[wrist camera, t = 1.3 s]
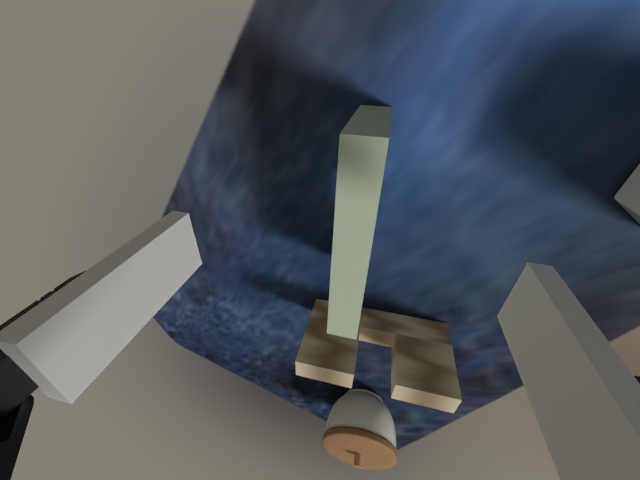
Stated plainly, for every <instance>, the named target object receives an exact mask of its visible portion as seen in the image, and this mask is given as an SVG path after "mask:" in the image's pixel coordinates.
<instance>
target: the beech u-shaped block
mask: <svg viewBox="0 0 640 480" xmlns="http://www.w3.org/2000/svg"><path fill="white" fill-rule="evenodd" d="M328 305H329V301H327V300H321V299H316V301H315V304H314V307H313V310H312V313H311V316H310V319H309V322H308V325H307V328H306V331H305V334H304V337H303V340H302V343H301V346H300V349H299V352H298V355H297V358H296V361H295V365H296V375H298V376H302V377H306V378H310V379H315V380H319V381H323V382H327V383H331V384H335V385H339V386H343V387H348V388H352V383H353V377H354V371H355V363H356V356H357V349H358V341H359V340H360V341H365V342H370V343H374V344H379V345H384V346H388V347H392V370H391V398H393V399H397V400H401V401H405V402H409V403H414V404H418V405H422V406H426V407H430V408H434V409H438V410H442V411H447V412H451V413H454V412H455V411H456V409H457V407H458V406H459V404H460V403H461V401H462V398H461V393H460V387H459V382H458V377H457V371H456V366H455V360H454V355H453V350H452V344H451V339H450V334H449V328H448V324H447V323H442V322H437V321H431V320H426V319H421V318H416V317H410V316H405V315H400V314H395V313H389V312H384V311H379V310H374V309H369V308H363V307H362V309H361V315H360V321H359V327H358V334H357V340H356V339H351V338H346V337H341V336H337V335H332V334H327V321H328Z"/></svg>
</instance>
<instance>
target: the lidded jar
mask: <svg viewBox="0 0 640 480" xmlns="http://www.w3.org/2000/svg"><path fill="white" fill-rule="evenodd" d="M322 443H323V447H324V449H325V450H326V451H327V452H328V453H329V454H330V455H331V456H333V457H334V458H336V459H338V460H339V461H341V462H344V463H346V464H348V465H351V466H354V467H355V468H358V469H360V468H363V469H369V470H383V469H388V468H391V467H393V466H394V465H395V464H396V462H397V451H396V434H395V426H394V421H393V418H392V416H391V413H390V411H389V410H388V408H387V407H386V405H385V404H384V403H383V402H382V399H381V398H380V397H379V396H378V395H377V394H375V393H374V392H372V391H369V390H365V389H351V390H349V391H347V393H346V394H345V395H343V396H342V397H340V398H339V399H338V400H337V401H336V403H335V404H334V406H333V407H332V409H331V412H330V414H329V417H328V420H327V424H326V430H325V433H324V436H323V440H322Z"/></svg>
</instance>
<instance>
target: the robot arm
mask: <svg viewBox="0 0 640 480" xmlns="http://www.w3.org/2000/svg"><path fill="white" fill-rule="evenodd" d="M201 264H202V262H201V258H200V254H199V251H198V247H197V243H196V239H195V236H194V232H193V228H192V224H191V221H190V217H189V213H184V212H177V211H172V212H170V213H169V214H167V215H166V216H165V217H163V218H162V219H160V220H159V221H157V222H156V223H155V224H153V225H152V226H150V227H149V228H147V229H146V230H145V231H143V232H142V233H140V234H139V235H137V236H136V237H134V238H133V239H131V240H130V241H129V242H127V243H126V244H124V245H123V246H121V247H120V248H119V249H117V250H116V251H114V252H113V253H111V254H110V255H108V256H107V257H106V258H104V259H103V260H102V261H100V262H98V263H97V264H96V265H94V266H93V267H91V268H90V269H88V270H86V271H84V272H82V273H80V274H78V275H75V276H73V277H71V278H69V279H68V280H66V281H65V282H63V283H62V284H60V285H59V286H58V287H56V288H55V289H54V291H50V292H49V293H47V294H46V295H44V296H43V297H41V299H40V301H36V302H34V303H33V304H31V305H30V306H28V307H27V308H25V309H24V310H22V311H21V312H20V313H18V314H16V315H15V316H14V317H12V318H11V319H9V320H8V321H6V322H5V323H3V324H2V325H0V480H10V479H11V476H12V472H13V469H14V466H15V463H16V459H17V456H18V453H19V450H20V446H21V443H22V440H23V437H24V434H25V430H26V427H27V424H28V421H29V417H30V414H31V411H32V408H33V402H34V397H33V396H32V395H31V393H32V392H33V391H34V390H36V389H37V388H38V387H39V388H40V389H41V390H42V391H43V392H44V393H45V394H46V395H47V396H48V397H50V398H52V399H55V400H59V401H62V402H65V403H69V404H72V403H73V402H74V401H75V400H76V398H78V396H79V395H80V394H81V393H82V392H83V391H84V390H85V389H86V388H87V387H88V386H89V384H91V382H92V381H93V380H94V379H95V378H96V377H97V376H98V375H99V374H100V373H101V372H102V371H103V370H104V368H105V367H106V366H107V365H108V364H109V363H110V362H111V361H112V360H113V359H114V358H115V357H116V356H117V355H118V353H119V352H120V351H121V350H122V349H123V348H124V347H125V346H126V345H127V344H128V343H129V341H131V339H132V338H133V337H134V336H135V335H136V334H137V333H138V332H139V331H140V330H141V329H142V328H143V327H144V326H145V324H146V323H147V322H148V321H149V320H150V319H151V318H152V317H153V316H154V315H155V314H156V313H157V312H158V311H159V309H160V308H161V307H162V306H163V305H164V304H165V303H166V302H167V301H168V300H169V299H170V298H171V297H172V296H173V294H174V293H175V292H176V291H177V290H178V289H179V288H180V287H181V286H182V285H183V284H184V283H185V282H186V280H187V279H188V278H189V277H190V276H191V275H192V274H193V273H194V272H195V271H196V270H197V269H198V268H199V267H200V265H201ZM497 317H498V320H499V322H500V325H501V328H502V330H503V333H504V335H505V338H506V340H507V343H508V346H509V348H510V351H511V353H512V356H513V358H514V361H515V364H516V366H517V369H518V371H519V374H520V377H521V379H522V382H523V384H524V387H525V389H526V392H527V394H528V397H529V400H530V402H531V405H532V408H533V410H534V413H535V415H536V418H537V420H538V423H539V426H540V428H541V431H542V433H543V436H544V438H545V441H546V444H547V446H548V449H549V451H550V454H551V457H552V459H553V462H554V464H555V467H556V469H557V472H558V474H559V477H560V480H640V377H638V376H634V375H633V374H632V373H631V372H630V370H629V369H628V367H627V366H626V365H625V363H624V362H623V361H622V359H621V358H620V357H619V355H618V354H617V353H616V351H615V350H614V349H613V347H612V346H611V345H610V343H609V342H608V340H607V339H606V338H605V336H604V335H603V334H602V332H601V331H600V330H599V328H598V327H597V326H596V324H595V323H594V322H593V320H592V319H591V318H590V316H589V315H588V313H587V312H586V311H585V309H584V308H583V307H582V305H581V304H580V303H579V301H578V300H577V299H576V297H575V296H574V295H573V293H572V292H571V291H570V289H569V288H568V287H567V285H566V284H565V282H564V281H563V280H562V278H561V277H560V276H559V274H558V273H557V272H556V270H555V269H554V268H553V266H548V265H541V264H534V263H527V265H526V266H525V268H524V270H523V272H522V273H521V275H520V277H519V279H518V280H517V282H516V284H515V286H514V288H513V289H512V291H511V293H510V295H509V296H508V298H507V300H506V302H505V303H504V305H503V307H502V309H501V311H500V312H499V314H498V316H497Z"/></svg>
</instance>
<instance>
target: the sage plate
mask: <svg viewBox="0 0 640 480" xmlns="http://www.w3.org/2000/svg"><path fill="white" fill-rule="evenodd" d="M391 115H392V107H386V106H371V105H360V106H359V108H358V109H357V111H356V112H355V113H354V115H353V116H352V117H351V119H350V120H349V122H348V123H347V124H346V126H345V127H344V129H343V130H342V131H341V133H340V137H339V152H338V167H337V183H336V198H335V213H334V229H333V244H332V259H331V275H330V290H329V305H328V321H327V334H332V335H337V336H341V337H346V338H351V339H356V340H357V334H358V327H359V321H360V315H361V309H362V303H363V297H364V291H365V284H366V278H367V272H368V266H369V260H370V254H371V247H372V241H373V235H374V229H375V223H376V217H377V211H378V204H379V198H380V192H381V186H382V180H383V174H384V168H385V161H386V155H387V149H388V143H389V136H390V126H391Z"/></svg>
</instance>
